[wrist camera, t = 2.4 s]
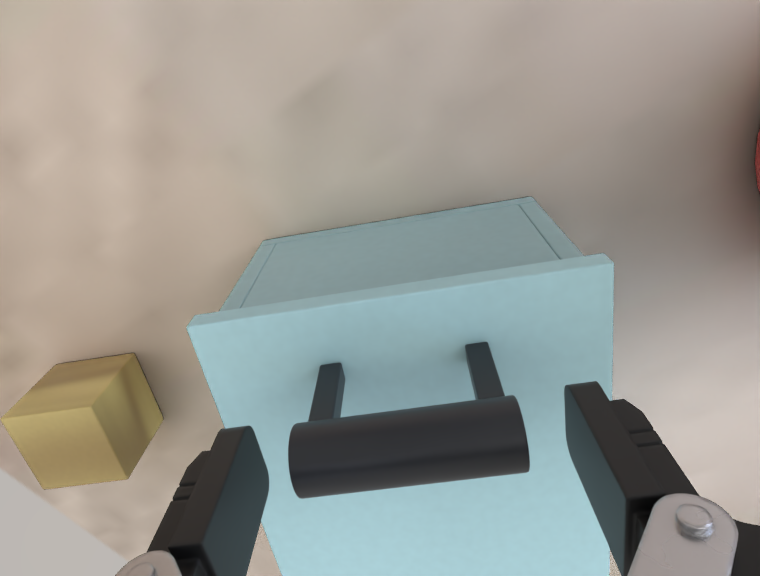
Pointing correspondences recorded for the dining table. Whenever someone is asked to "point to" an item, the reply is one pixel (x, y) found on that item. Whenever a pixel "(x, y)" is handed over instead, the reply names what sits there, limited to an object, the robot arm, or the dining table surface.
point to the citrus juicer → (758, 161)
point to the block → (85, 422)
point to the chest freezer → (401, 252)
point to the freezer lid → (422, 420)
